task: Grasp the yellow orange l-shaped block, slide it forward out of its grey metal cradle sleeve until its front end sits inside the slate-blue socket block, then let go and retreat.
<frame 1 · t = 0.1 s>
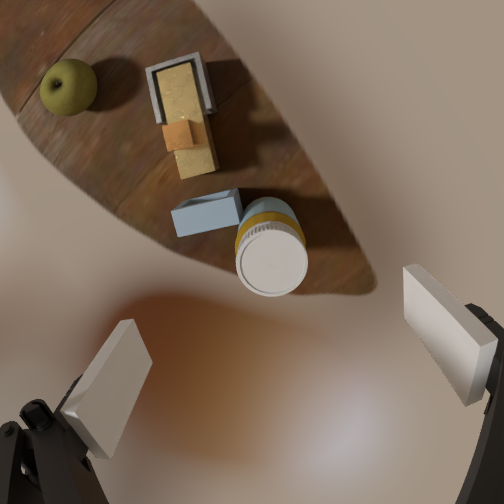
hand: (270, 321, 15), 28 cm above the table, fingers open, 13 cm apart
socket block: (213, 205, 41), on the table
apple: (84, 91, 36), on the table
sleeve: (187, 93, 36), on the table
yellow orange l-shaped block: (183, 119, 32), point 6 cm above the table, slide at 0.0 cm
bottle: (268, 222, 42), on the table
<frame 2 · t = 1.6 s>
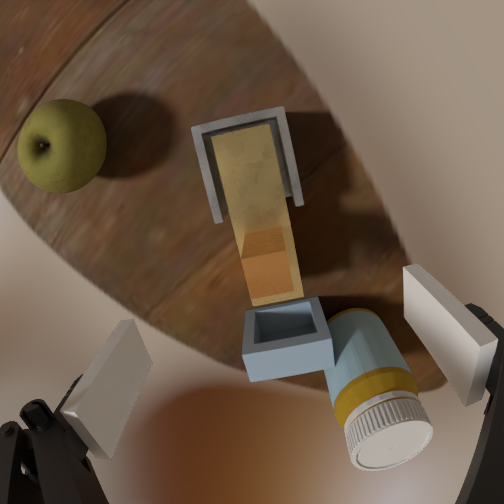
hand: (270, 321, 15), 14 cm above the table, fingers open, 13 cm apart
socket block: (284, 316, 31), on the table
apple: (86, 143, 26), on the table
sleeve: (250, 160, 26), on the table
yellow orange l-shaped block: (260, 222, 22), point 5 cm above the table, slide at 0.0 cm
bottle: (349, 332, 32), on the table
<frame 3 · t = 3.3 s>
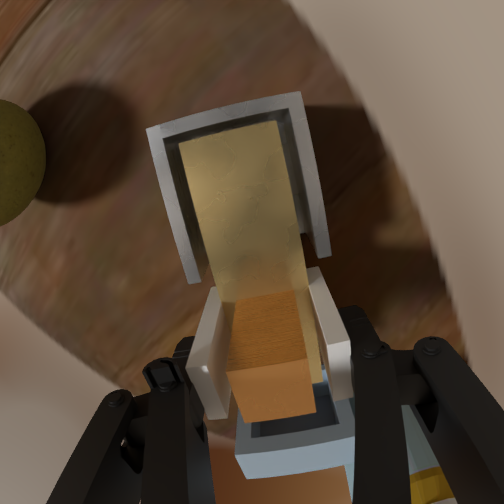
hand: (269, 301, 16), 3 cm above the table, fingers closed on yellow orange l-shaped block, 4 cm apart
socket block: (292, 385, 22), on the table
apple: (26, 156, 17), on the table
sleeve: (245, 178, 18), on the table
yellow orange l-shaped block: (261, 285, 14), point 6 cm above the table, slide at 0.0 cm, touching gripper
bottle: (373, 398, 23), on the table
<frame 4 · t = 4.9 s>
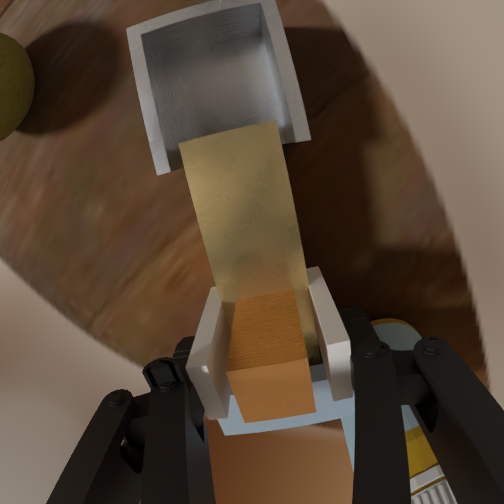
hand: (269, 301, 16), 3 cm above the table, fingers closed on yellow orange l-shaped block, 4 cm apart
socket block: (280, 332, 21), on the table
apple: (16, 94, 16), on the table
sleeve: (225, 93, 16), on the table
yellow orange l-shaped block: (261, 285, 14), point 5 cm above the table, slide at 5.0 cm, touching gripper
bottle: (373, 353, 21), on the table
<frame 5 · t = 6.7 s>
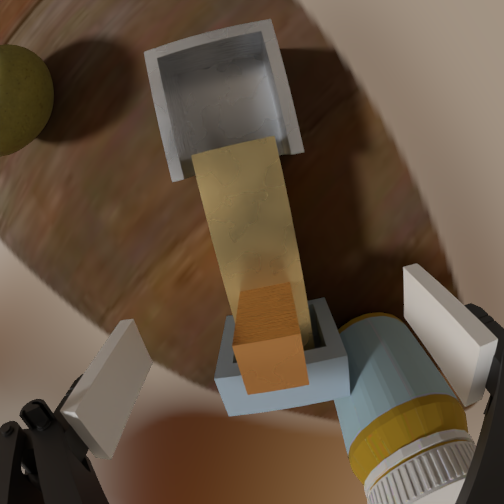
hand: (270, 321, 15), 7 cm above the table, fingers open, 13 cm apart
socket block: (279, 325, 23), on the table
apple: (35, 104, 18), on the table
sleeve: (230, 109, 18), on the table
yellow orange l-shaped block: (261, 278, 16), point 5 cm above the table, slide at 5.0 cm
bottle: (365, 346, 23), on the table
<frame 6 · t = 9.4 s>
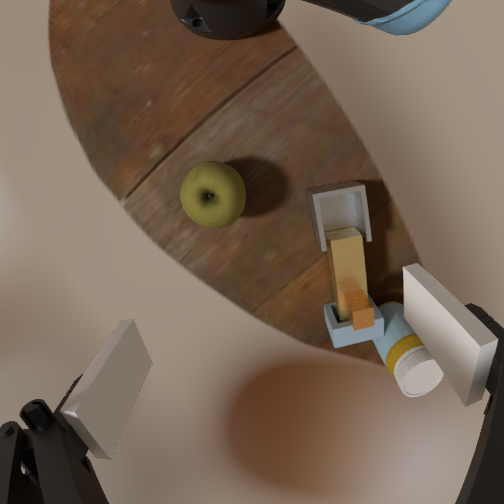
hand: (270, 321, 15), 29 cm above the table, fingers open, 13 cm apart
socket block: (347, 308, 46), on the table
apple: (218, 189, 41), on the table
sleeve: (334, 209, 42), on the table
yellow orange l-shaped block: (353, 288, 39), point 5 cm above the table, slide at 5.0 cm
bottle: (386, 318, 47), on the table
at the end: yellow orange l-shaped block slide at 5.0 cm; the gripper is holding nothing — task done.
